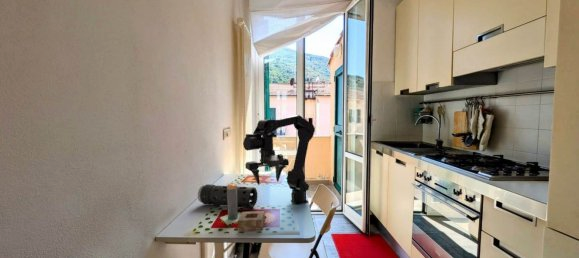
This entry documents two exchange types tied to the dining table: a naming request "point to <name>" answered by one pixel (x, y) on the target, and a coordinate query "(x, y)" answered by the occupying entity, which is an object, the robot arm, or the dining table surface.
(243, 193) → the muzzle brake
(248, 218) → the socket block
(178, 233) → the dining table surface
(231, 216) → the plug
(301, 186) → the robot arm
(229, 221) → the mat
